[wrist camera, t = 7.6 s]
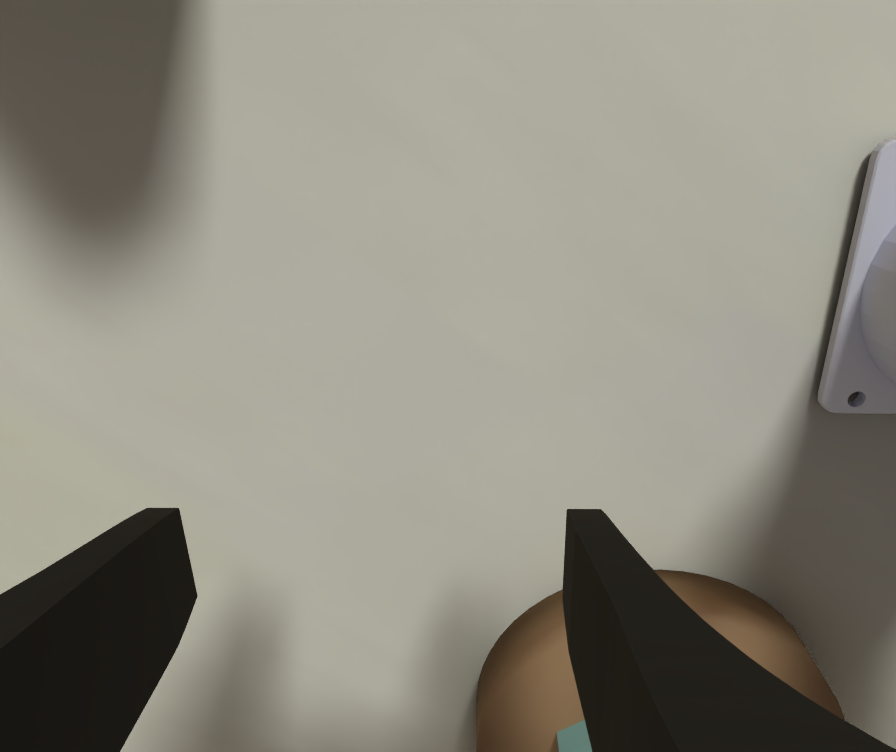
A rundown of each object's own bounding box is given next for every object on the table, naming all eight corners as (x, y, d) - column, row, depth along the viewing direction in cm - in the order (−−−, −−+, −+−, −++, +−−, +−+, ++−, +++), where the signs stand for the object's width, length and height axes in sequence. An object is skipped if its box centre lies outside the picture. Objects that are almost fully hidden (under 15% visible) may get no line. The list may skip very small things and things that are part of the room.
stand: (846, 573, 23) (887, 625, 21) (780, 821, 28) (806, 885, 26) (478, 565, 24) (477, 614, 21) (475, 809, 29) (475, 870, 26)
